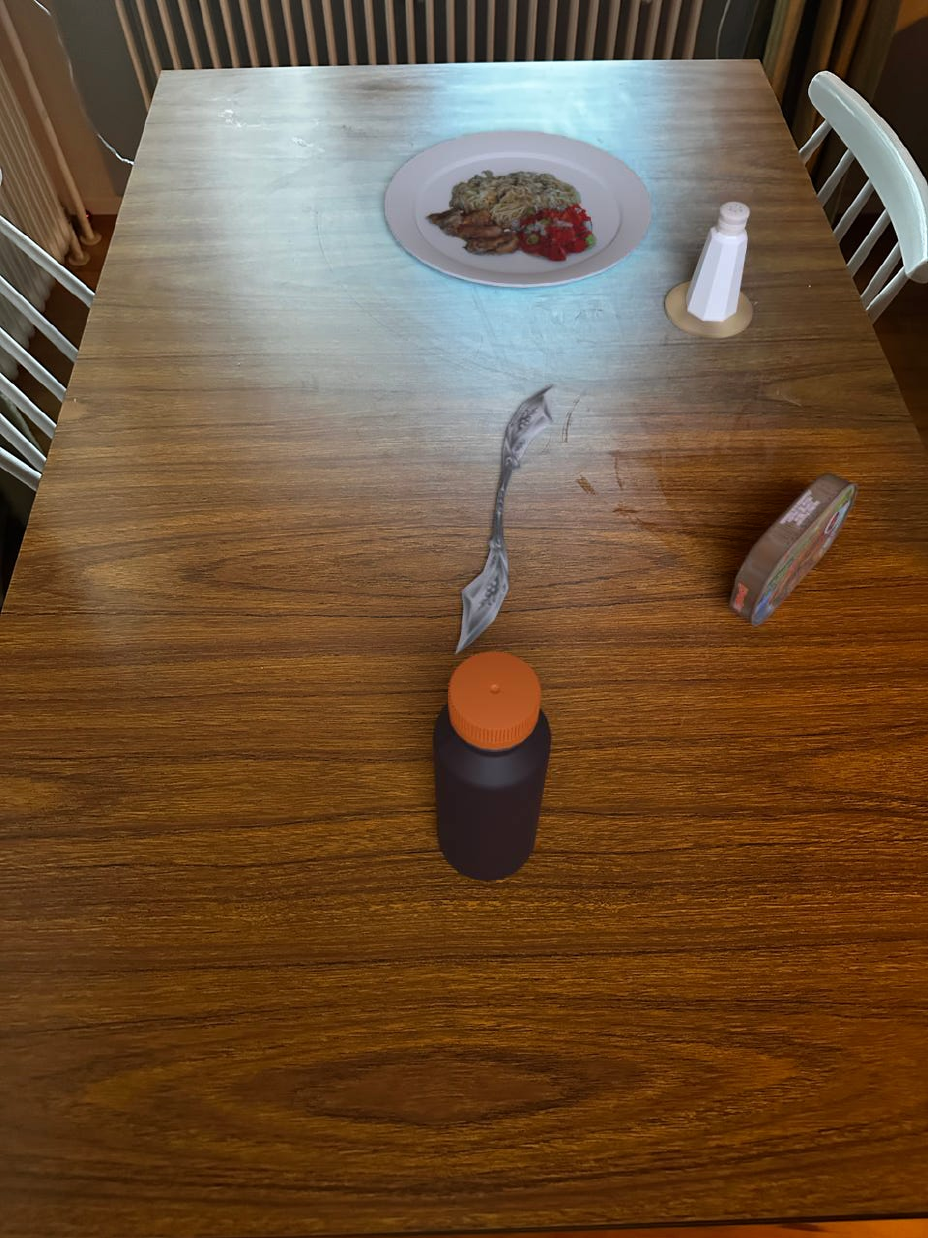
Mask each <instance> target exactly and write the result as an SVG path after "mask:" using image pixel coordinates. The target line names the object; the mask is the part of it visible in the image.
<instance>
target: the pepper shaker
mask: <svg viewBox="0 0 928 1238" xmlns="http://www.w3.org/2000/svg"><path fill="white" fill-rule="evenodd" d="M750 214H751V210H750V208H749V207H748V206H747V205H746V204H744V203H742V202H739V201H727V202H725V203H723V204H722V205H721V206H720V207H719V215H718V219H717V224H715V225H714V226H712V227H710V229H709V231H708V234H707V237H706V239H705V242H704V245H703V247H702V250H701V253H700V255H699V259H698V262H697V264H696V267H695V270H694V274H693V275H692V277H691V280H690V281H691V284H690V286H689V289H688V292H687V295H686V298H685V300H686V306H687V312H689V313H690V314H692V315H694V316H695V317H697V318H698V319H700V320H702V321H713V322H723V321H724V320H726V319H727V318H729V317H730V316H732V315H733V314H735V313H736V310H737V304H738V298H739V292H740V291H741V285H742V279H743V274H744V273H743V272H744V267H745V262H746V261H745V260H746V255H747V247H748V240H749V239H748V238H749V237H748V233H747V230H746V229H747V228H746V226H747V222H748V219H749V217H750ZM745 228H746V229H745Z"/></svg>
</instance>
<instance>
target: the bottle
mask: <svg viewBox="0 0 928 1238" xmlns="http://www.w3.org/2000/svg"><path fill="white" fill-rule="evenodd" d="M541 701H542V684H541V681H540V678H538V674H537V672H536V671H535V670H534V668H532V666H530V664H529V663H527V661H524V659H523V658H522V659H521V657H520V656H517V655H515V654H513V653H512V654H511V653H510V652H506V651H504V652H503V651H502V650H500V651H498V650H495V651H494V650H492V651H490V650H488V651H484V652H479V653H478V652H477V654H473V656H472V655H470V656H469V657H466V659H463V662H460V664H458V665H457V667H455V670H453V673H451V676H450V679H449V683H448V687H447V702H445V704H444V705H443V706H442V708H441V710H440V712H439V713H438V715H437V717H436V719H434V720H435V721H434V726H433V732H432V738H431V739H432V740H431V741H432V755H433V756H432V757H433V758H432V761H433V775H434V777H433V778H434V795H435V798H434V799H435V813H436V815H435V816H436V833H437V841H438V844H439V850H440V851H441V854H442V855H443V857H444V859H445V861H446V862H447V864H449V865H450V866H451V867H452V868H453V869H454V870H455V871H456V872H457V873H459V874H461V876H462V875H463V876H465V877H467V878H469V879H471V880H475V881H481V882H494V881H500V880H504V879H507V877H509V876H511V875H513V874H515V873H517V872H519V870H520V869H521V868H523V866H524V865H525V864H526V863H527V862H528V861H529V859H530V858H531V855H532V852H533V850H534V849H535V845H536V838H537V833H538V826H539V819H540V815H541V809H542V803H543V796H544V791H545V785H546V779H547V773H548V768H549V760H550V755H551V748H552V737H553V736H552V731H551V727H550V722H549V719H548V716H546V714H545V712H544V711H543V709H542V708H541Z"/></svg>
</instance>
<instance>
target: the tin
mask: <svg viewBox="0 0 928 1238" xmlns="http://www.w3.org/2000/svg"><path fill="white" fill-rule="evenodd" d="M858 493H859V485H858V484H857V482H851V481H849V480H848V479H845V478H843V477H841V476H839V475H837V474H835V473H832V472H824V473H821V474H820V475H818V476H817V477H816V478H814V480H812V481H811V482H810V483H809V484H808V486H807V487H806V488H804V490H802V492H801V493H800V494H799V495H798V496H797V497H796V498H795V499H794V500H793V501H792V502H791V503H790V504H789V505H788V507H787V508H785V510H784V511H783V512H782V513H781V514H780V515H779V516H778V517H777V518H776V519H775V520H774V521H773V522H772V523H771V525H770V526H769V527H767V529H766V530H765V531H764V532H763V533H762V534H761V536H760V537H759V538H758V539H757V541H756V542H755V543H754V545H753V546H752V548H751V549H750V550H749V551H748V553H747V555H746V556H745V558H744V560H743V562H742V564H741V565H740V567H739V569H738V571H737V574H736V576H735V578H734V583H733V588H732V590H731V594H730V597H729V601H728V604H727V606H728V609H730V611H732V612H733V613H735V614H736V615H738V616H740V617H741V618H743V619H744V620H746V621H747V622H748V621H749V622H750V624H751V625H752V626H754V627H757V626H760V625H761V624H763V623H764V622H765V621H767V619H768V618H770V617H771V616H772V615H773V614H774V612H776V610H777V609H778V608H779V606H781V605H782V603H783V602H784V601H785V600H786V599H787V598H788V597H789V595H790V594H791V593H792V592H793V591H794V590H795V588H796V587H797V586H798V585H799V584H800V583H801V582H802V581H803V580H804V579H805V578H806V576H807V575H808V574H809V573H810V572H811V571H812V569H813V568H815V566H816V565H817V564H818V563H819V561H820V560H821V559H822V558H823V557H824V555H825V554H826V552H827V551H828V550H829V548H830V547H831V545H832V544H833V543H834V541H835V540H836V538H837V536H838V534H839V533H840V531H841V529H842V528H843V526H844V524H845V522H846V520H847V518H848V516H849V514H850V512H851V511H852V509H853V506H854V503H855V501H856V499H857V495H858Z"/></svg>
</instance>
